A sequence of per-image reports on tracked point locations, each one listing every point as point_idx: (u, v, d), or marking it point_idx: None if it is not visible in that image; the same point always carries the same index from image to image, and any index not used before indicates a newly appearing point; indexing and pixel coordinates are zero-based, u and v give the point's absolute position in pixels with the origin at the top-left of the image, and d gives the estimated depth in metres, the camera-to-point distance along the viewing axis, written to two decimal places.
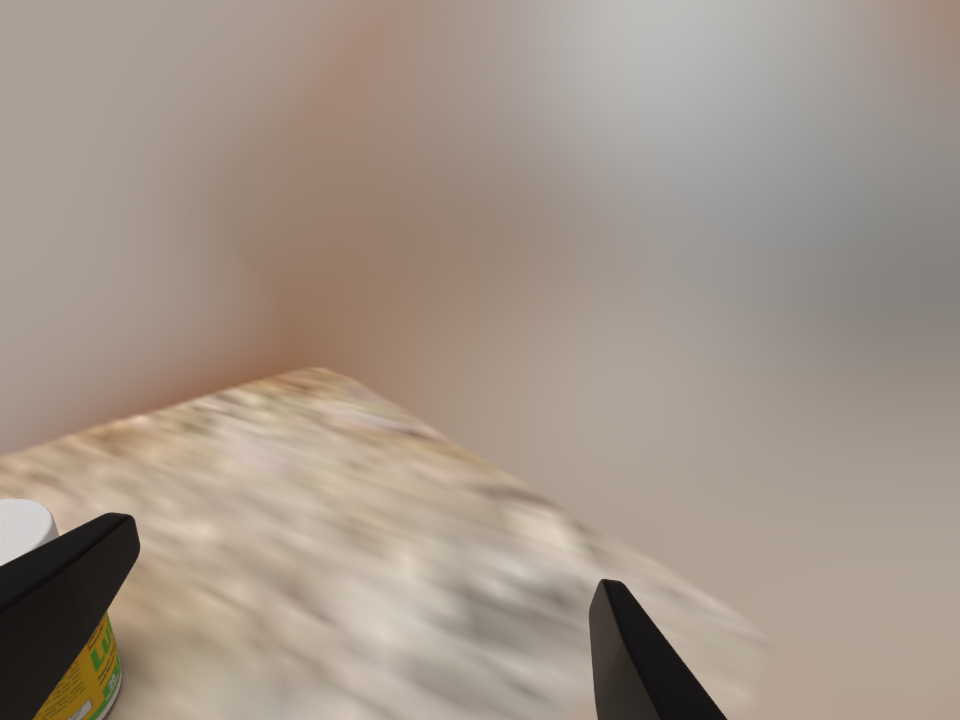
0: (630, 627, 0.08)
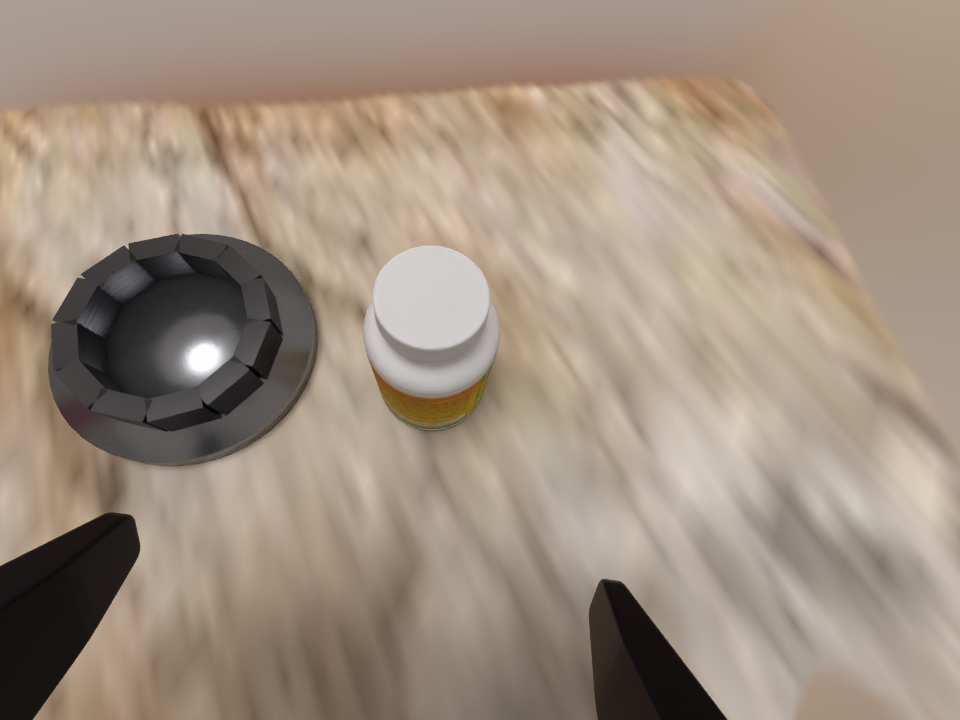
0: (630, 627, 0.08)
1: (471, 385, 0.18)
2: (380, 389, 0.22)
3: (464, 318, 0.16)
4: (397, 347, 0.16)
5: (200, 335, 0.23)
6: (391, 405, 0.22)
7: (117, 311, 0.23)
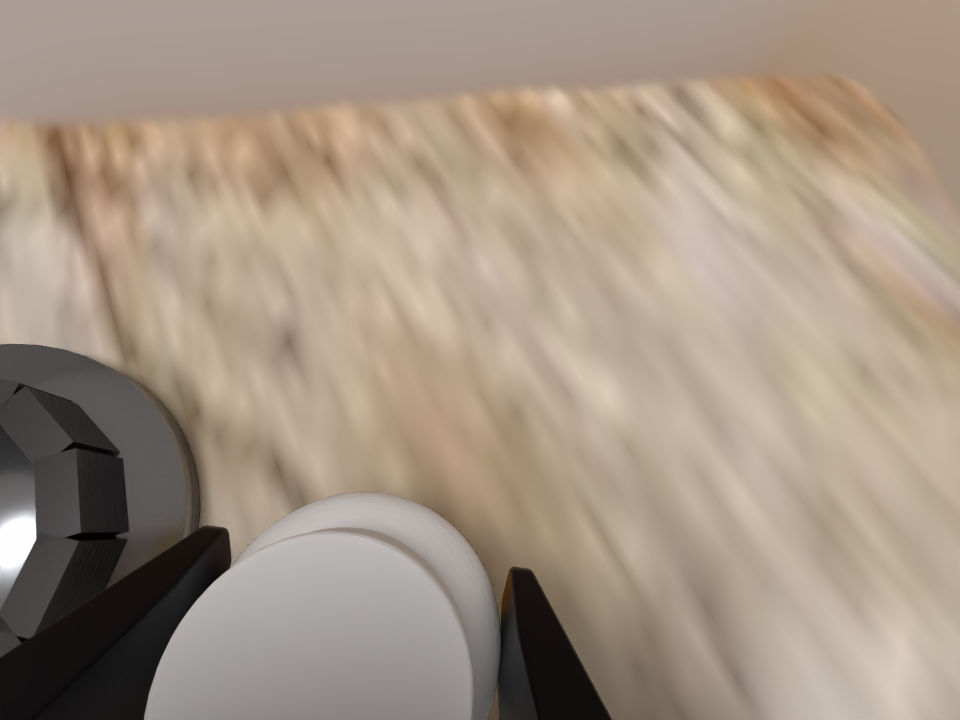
0: (527, 613, 0.08)
1: None
2: None
3: None
4: None
5: None
6: None
7: None
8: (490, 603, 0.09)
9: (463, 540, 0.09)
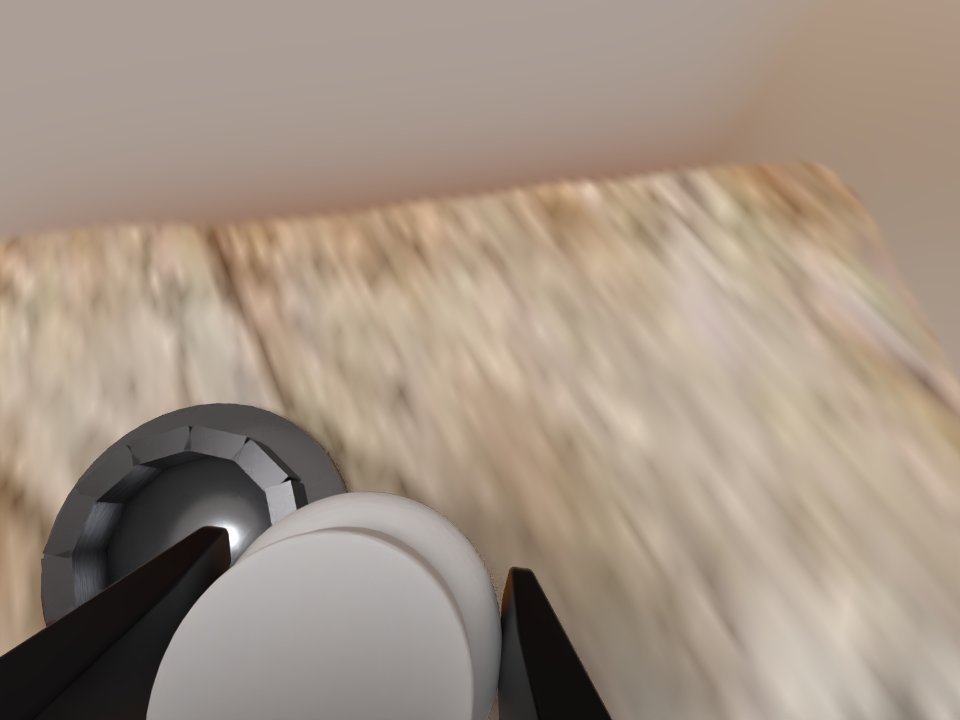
0: (527, 614, 0.08)
1: None
2: None
3: None
4: None
5: None
6: None
7: (120, 514, 0.20)
8: (491, 602, 0.09)
9: (464, 539, 0.09)
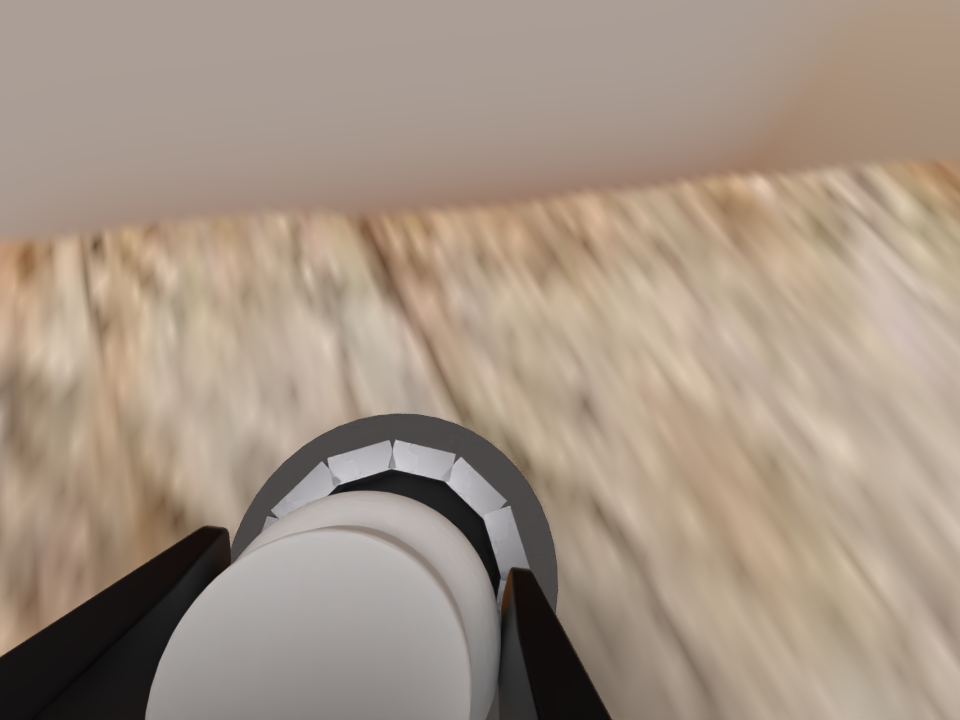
0: (527, 613, 0.08)
1: None
2: None
3: None
4: None
5: None
6: None
7: None
8: (490, 601, 0.09)
9: (463, 538, 0.09)
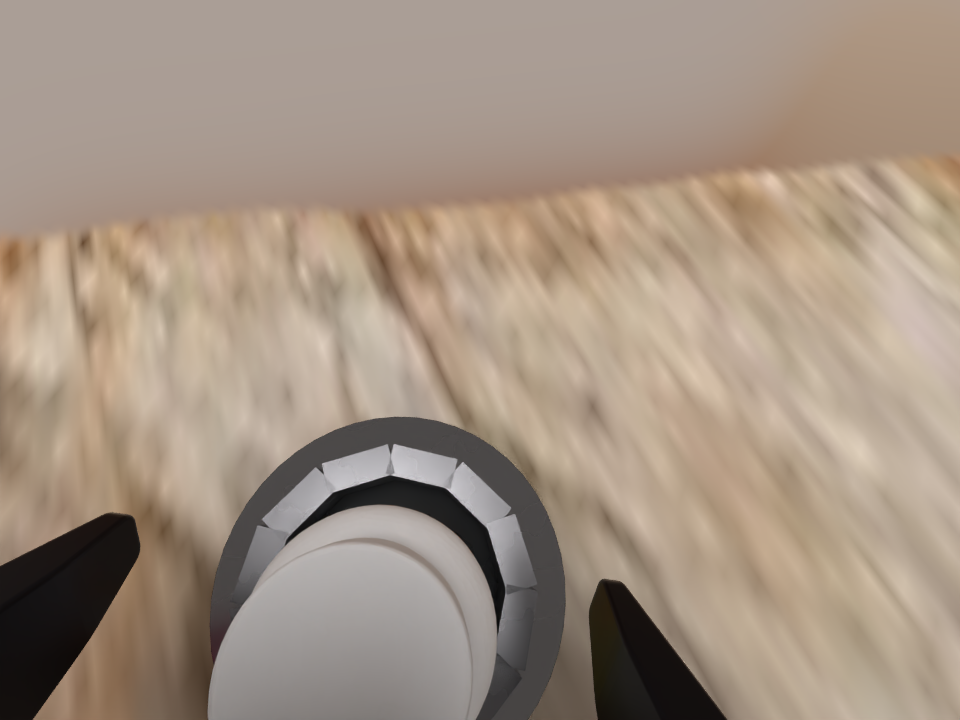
0: (630, 627, 0.08)
1: None
2: None
3: None
4: None
5: None
6: None
7: None
8: (487, 601, 0.10)
9: (464, 547, 0.10)
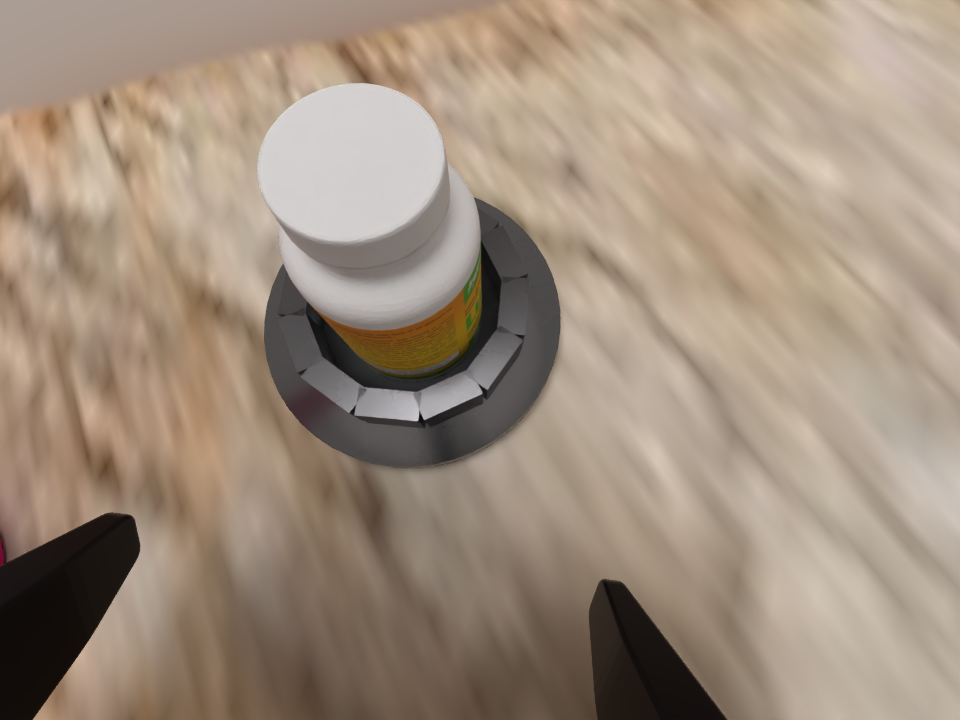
0: (630, 627, 0.08)
1: (447, 303, 0.13)
2: None
3: (405, 185, 0.10)
4: (311, 251, 0.10)
5: None
6: (358, 354, 0.16)
7: None
8: (467, 187, 0.13)
9: None
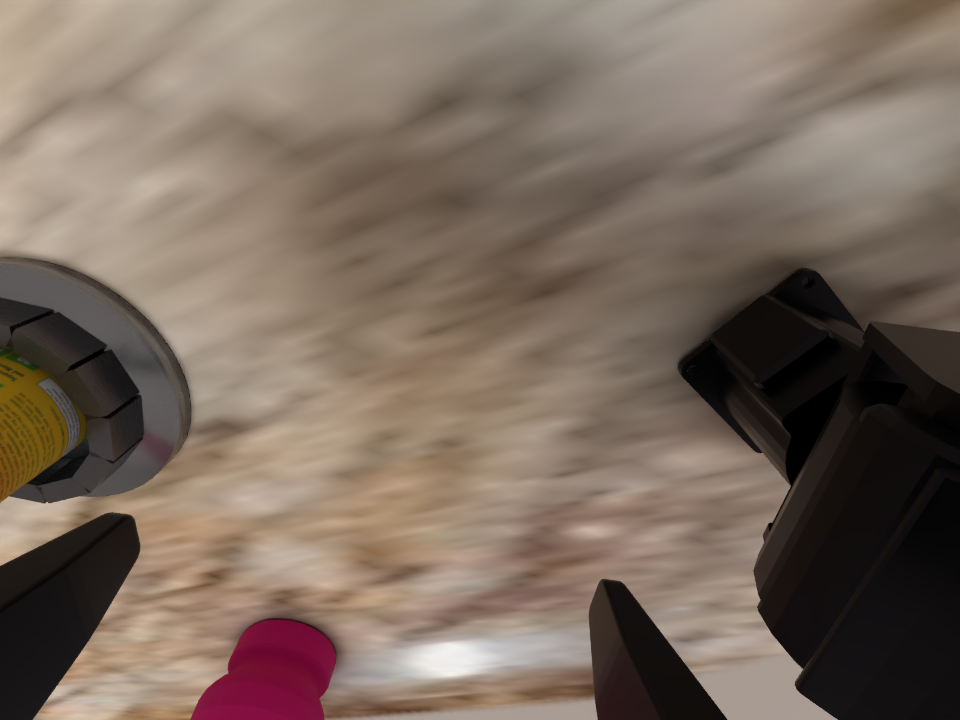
0: (630, 627, 0.08)
1: None
2: None
3: None
4: None
5: None
6: (57, 458, 0.20)
7: None
8: None
9: None
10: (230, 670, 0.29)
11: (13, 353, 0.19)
